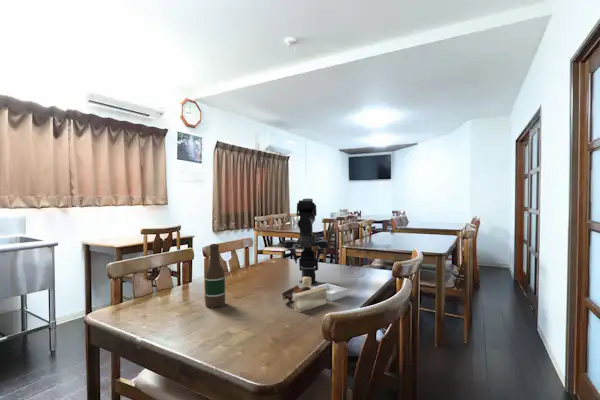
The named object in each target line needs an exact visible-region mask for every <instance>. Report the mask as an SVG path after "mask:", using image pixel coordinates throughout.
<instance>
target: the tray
mask: <svg viewBox="0 0 600 400" xmlns="http://www.w3.org/2000/svg"><path fill="white" fill-rule="evenodd" d="M318 287H324V288H326V301H329V302H335V301H337V300H340V299H344V298H347V297H349V289H348V288H346V287H342V286H338V285H335V284H332V283H328V282H327V283H325V284H319V285H317V286H316V285H315V286H311V289H315V288H318Z"/></svg>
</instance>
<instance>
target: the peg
mask: <svg viewBox="0 0 600 400" xmlns="http://www.w3.org/2000/svg"><path fill="white" fill-rule="evenodd" d="M301 280H302V283H301V286H302V287H301V288H304V287H309V288H310V289H311V288H312V284H311V277H303V278H302V277H301ZM305 291H307V290H305Z"/></svg>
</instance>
